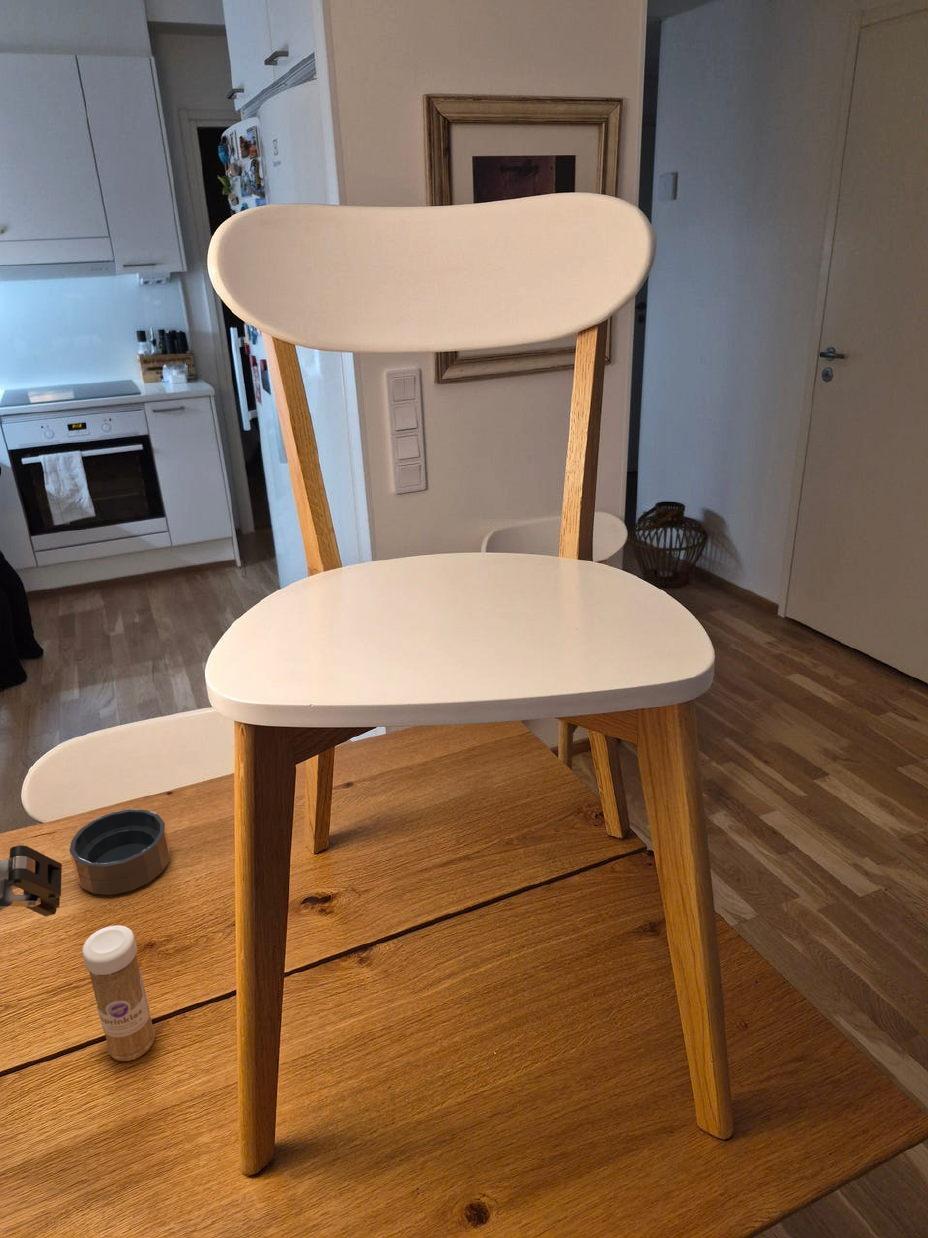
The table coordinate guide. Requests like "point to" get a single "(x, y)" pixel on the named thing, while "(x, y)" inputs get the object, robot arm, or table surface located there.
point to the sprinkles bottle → (119, 992)
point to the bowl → (120, 851)
